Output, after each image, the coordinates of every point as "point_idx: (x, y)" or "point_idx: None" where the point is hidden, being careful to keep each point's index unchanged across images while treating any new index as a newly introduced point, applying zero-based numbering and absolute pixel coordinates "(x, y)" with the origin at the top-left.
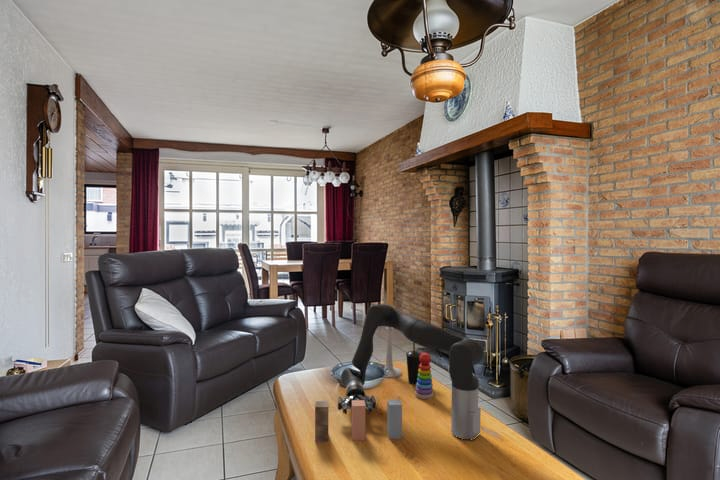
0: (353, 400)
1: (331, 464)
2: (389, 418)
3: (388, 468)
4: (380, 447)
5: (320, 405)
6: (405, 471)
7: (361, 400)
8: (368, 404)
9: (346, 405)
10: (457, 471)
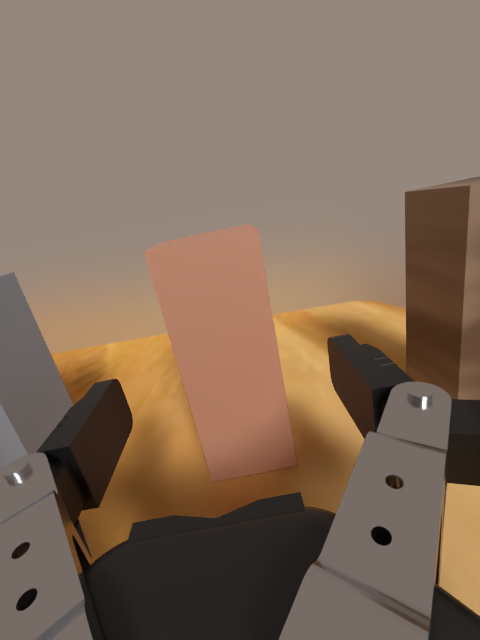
0: (241, 232)
1: (325, 320)
2: (46, 351)
3: None
4: (160, 395)
5: (473, 179)
6: (135, 341)
7: (171, 245)
8: (72, 430)
9: (358, 371)
10: None
